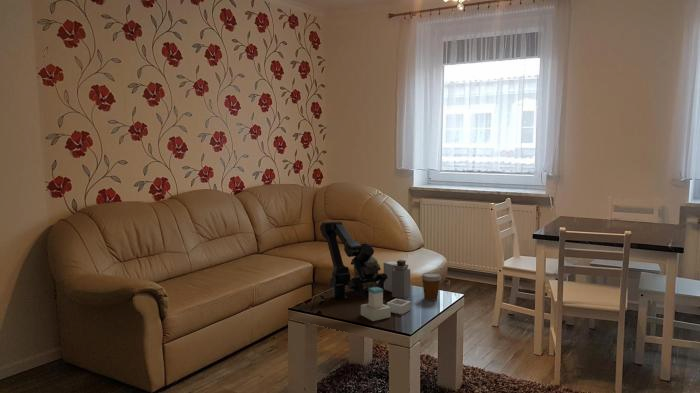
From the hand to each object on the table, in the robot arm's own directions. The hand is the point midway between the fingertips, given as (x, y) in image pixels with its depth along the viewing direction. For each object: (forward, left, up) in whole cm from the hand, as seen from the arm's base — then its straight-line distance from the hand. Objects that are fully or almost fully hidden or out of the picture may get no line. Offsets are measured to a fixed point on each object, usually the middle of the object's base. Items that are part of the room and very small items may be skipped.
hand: (375, 297), depth 225 cm
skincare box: (-33, +24, -9) cm, 41 cm away
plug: (0, 0, -8) cm, 8 cm away
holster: (-3, +13, -8) cm, 16 cm away
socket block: (0, 0, -8) cm, 8 cm away
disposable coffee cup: (-14, +36, -9) cm, 40 cm away
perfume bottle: (-23, +24, -9) cm, 34 cm away
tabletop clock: (-36, +10, -9) cm, 38 cm away
